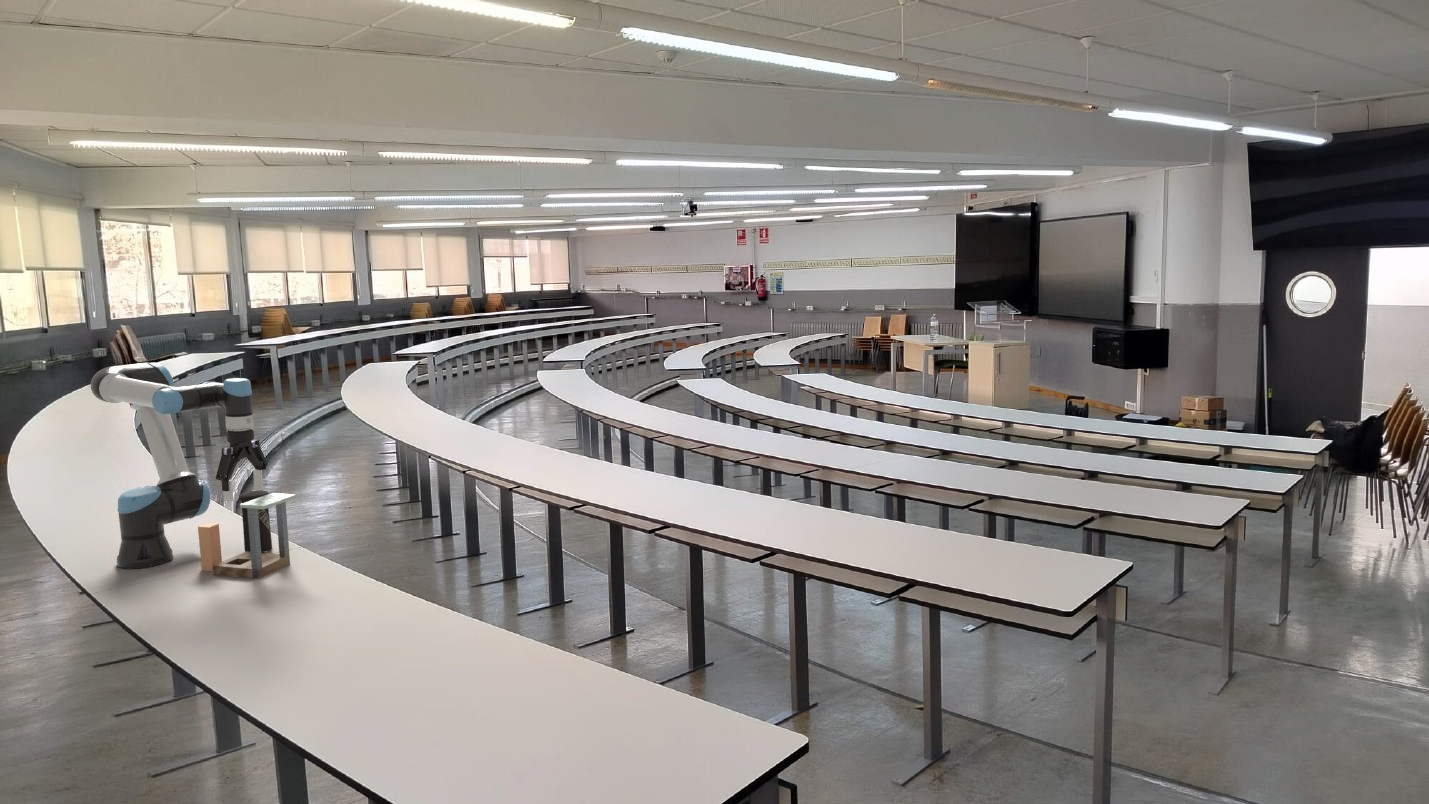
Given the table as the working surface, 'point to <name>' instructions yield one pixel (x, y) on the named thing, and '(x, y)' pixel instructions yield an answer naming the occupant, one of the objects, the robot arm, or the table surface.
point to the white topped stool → (253, 524)
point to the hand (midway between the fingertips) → (244, 495)
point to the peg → (209, 545)
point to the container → (263, 522)
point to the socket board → (250, 565)
